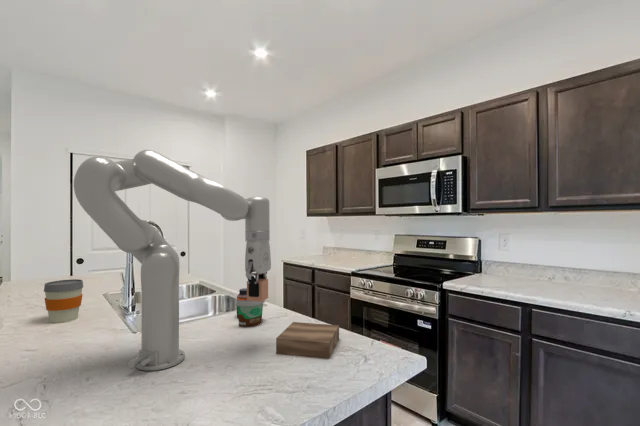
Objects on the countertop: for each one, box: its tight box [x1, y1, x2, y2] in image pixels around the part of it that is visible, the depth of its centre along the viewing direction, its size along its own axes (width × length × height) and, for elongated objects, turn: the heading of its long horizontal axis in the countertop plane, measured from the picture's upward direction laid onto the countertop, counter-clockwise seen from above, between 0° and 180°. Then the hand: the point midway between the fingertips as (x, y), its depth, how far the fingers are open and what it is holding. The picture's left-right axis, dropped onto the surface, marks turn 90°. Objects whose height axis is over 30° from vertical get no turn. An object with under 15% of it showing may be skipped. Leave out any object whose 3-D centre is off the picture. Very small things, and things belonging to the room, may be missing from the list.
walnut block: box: [275, 321, 340, 360], centre depth 104 cm, size 16×16×5 cm
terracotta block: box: [246, 278, 269, 302], centre depth 104 cm, size 5×5×6 cm
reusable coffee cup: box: [43, 278, 84, 324], centre depth 132 cm, size 13×13×15 cm
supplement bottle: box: [236, 287, 247, 318], centre depth 135 cm, size 6×6×11 cm
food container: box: [235, 299, 266, 328], centre depth 126 cm, size 12×6×10 cm, turn 143°
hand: (257, 293), depth 104 cm, fingers closed on terracotta block, 5 cm apart
